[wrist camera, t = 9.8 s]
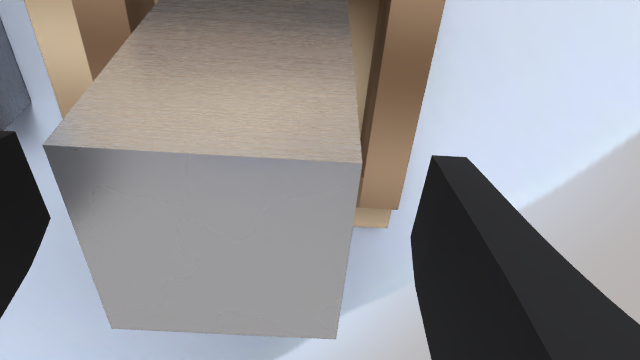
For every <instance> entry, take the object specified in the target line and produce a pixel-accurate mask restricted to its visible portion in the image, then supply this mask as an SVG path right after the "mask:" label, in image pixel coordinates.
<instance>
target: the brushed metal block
mask: <svg viewBox="0 0 640 360" xmlns="http://www.w3.org/2000/svg"><path fill="white" fill-rule="evenodd" d="M43 147H44V150H45V153H46V155H47V158H48V160H49V163H50V166H51V168H52V171H53V174H54V176H55V179H56V182H57V184H58V187H59V190H60V192H61V195H62V198H63V200H64V203H65V206H66V208H67V211H68V214H69V216H70V219H71V222H72V224H73V227H74V230H75V232H76V235H77V238H78V240H79V243H80V246H81V248H82V251H83V254H84V256H85V259H86V262H87V264H88V267H89V270H90V272H91V275H92V278H93V280H94V283H95V286H96V288H97V291H98V294H99V296H100V299H101V302H102V304H103V307H104V309H105V312H106V315H107V317H108V320H109V323H110V325H111V328H112V329H131V330H152V331H173V332H194V333H215V334H236V335H257V336H278V337H299V338H322V339H336V335H337V329H338V322H339V316H340V309H341V302H342V296H343V289H344V282H345V276H346V269H347V262H348V256H349V249H350V242H351V236H352V229H353V222H354V216H355V209H356V202H357V196H358V189H359V182H360V176H361V169H362V154H361V143H360V132H359V121H358V110H357V98H356V87H355V76H354V65H353V54H352V43H351V31H350V20H349V9H348V0H158V1H157V3H156V4H155V5H154V6H153V8H152V9H151V10H150V11H149V13H148V14H147V15H146V16H145V18H144V19H143V20H142V21H141V23H140V24H139V25H138V26H137V28H136V29H135V30H134V31H133V33H132V34H131V35H130V36H129V38H128V39H127V40H126V41H125V43H124V44H123V45H122V46H121V48H120V49H119V50H118V51H117V53H116V54H115V55H114V56H113V58H112V59H111V60H110V61H109V63H108V64H107V65H106V66H105V68H104V69H103V70H102V71H101V73H100V74H99V75H98V76H97V78H96V79H95V80H94V81H93V82H92V84H91V85H90V86H89V87H88V89H87V90H86V91H85V92H84V94H83V95H82V96H81V97H80V99H79V100H78V101H77V102H76V104H75V105H74V106H73V107H72V109H71V110H70V111H69V112H68V114H67V115H66V116H65V117H64V119H63V120H62V121H61V122H60V124H59V125H58V126H57V127H56V129H55V130H54V131H53V132H52V134H51V135H50V136H49V137H48V139H47V140H46V141H45V142H44V144H43Z"/></svg>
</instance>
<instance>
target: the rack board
mask: <svg viewBox="0 0 640 360" xmlns="http://www.w3.org/2000/svg"><path fill="white" fill-rule="evenodd" d="M157 1H158V0H24V2H25V5H26V8H27V11H28V14H29V17H30V20H31V23H32V26H33V29H34V32H35V36H36V39H37V42H38V45H39V48H40V51H41V54H42V57H43V60H44V63H45V66H46V69H47V72H48V75H49V78H50V81H51V84H52V87H53V90H54V93H55V96H56V99H57V102H58V106H59V109H60V112H61V115H62V118H63V119H64V117H65V116H66V115H67V114H68V112H69V111H70V110H71V109H72V107H73V106H74V105H75V104H76V102H77V101H78V100H79V99H80V97H81V96H82V95H83V94H84V92H85V91H86V90H87V89H88V87H89V86H90V85H91V84H92V82H93V81H94V80H95V79H96V78H97V76H98V75H99V74H100V73H101V71H102V70H103V69H104V68H105V66H106V65H107V64H108V63H109V61H110V60H111V59H112V58H113V56H114V55H115V54H116V53H117V51H118V50H119V49H120V48H121V46H122V45H123V44H124V43H125V41H126V40H127V39H128V38H129V36H130V35H131V34H132V33H133V31H134V30H135V29H136V28H137V26H138V25H139V24H140V23H141V21H142V20H143V19H144V18H145V16H146V15H147V14H148V13H149V11H150V10H151V9H152V8H153V6H154V5H155V4H156V3H157ZM444 5H445V0H348V9H349V20H350V31H351V43H352V54H353V65H354V76H355V87H356V98H357V110H358V121H359V132H360V143H361V154H362V169H361V176H360V182H359V189H358V196H357V202H356V209H355V216H354V222H353V226H358V227H376V228H388V223H389V218H390V214H391V209H393V210H398V206H399V202H400V198H401V193H402V189H403V184H404V180H405V176H406V171H407V167H408V163H409V158H410V154H411V149H412V145H413V141H414V136H415V132H416V127H417V123H418V119H419V114H420V110H421V105H422V101H423V97H424V92H425V88H426V84H427V79H428V75H429V70H430V66H431V62H432V57H433V53H434V48H435V44H436V40H437V35H438V31H439V26H440V22H441V18H442V13H443V9H444Z"/></svg>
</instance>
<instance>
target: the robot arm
mask: <svg viewBox="0 0 640 360" xmlns="http://www.w3.org/2000/svg"><path fill="white" fill-rule="evenodd" d="M50 219H51V218H50V215H49V213H48V210H47V208H46V206H45V203H44V201H43V198H42V196H41V193H40V191H39V188H38V186H37V184H36V181H35V179H34V176H33V174H32V171H31V169H30V167H29V164H28V162H27V159H26V157H25V154H24V152H23V149H22V147H21V145H20V142H19V140H18V137H17V135H16V132H15V131H0V318H1V317H2V315H3V313H4V312H5V310H6V308H7V307H8V305H9V303H10V302H11V300H12V298H13V297H14V295H15V293H16V291H17V290H18V288H19V286H20V285H21V283H22V281H23V280H24V278H25V276H26V274H27V273H28V271H29V269H30V267H31V265H32V263H33V260H34V258H35V256H36V253H37V251H38V249H39V247H40V244H41V242H42V239H43V237H44V234H45V231H46V229H47V226H48V224H49V221H50ZM411 248H412V260H413V270H414V279H415V287H416V292H417V297H418V301H419V306H420V311H421V315H422V319H423V324H424V329H425V333H426V337H427V341H428V346H429V350H430V355H431V359H432V360H640V325H639V324H638V323H637V322H636V321H635V320H633V319H632V318H631V317H630V316H628V315H627V314H626V313H625V312H624V311H623V310H621V309H620V308H619V307H618V306H617V305H616V304H614V303H613V302H612V301H611V300H610V299H609V298H607V297H606V296H605V295H604V294H603V293H602V292H601V291H600V290H599V289H597V288H596V287H595V286H594V285H593V284H592V283H591V282H590V281H589V280H587V279H586V278H585V277H584V276H583V275H582V274H581V273H580V272H579V271H578V270H576V269H575V268H574V267H573V266H572V265H571V264H570V263H569V262H568V261H567V260H566V259H565V258H564V257H563V256H562V255H561V254H559V252H558V251H556V250H555V249H554V248H553V247H552V246H551V245H550V244H549V243H548V242H547V241H546V240H545V239H544V238H543V237H542V236H541V235H540V234H539V233H538V232H537V231H536V230H535V229H534V228H533V227H532V226H531V225H530V224H529V223H528V222H527V220H526V219H525V218H524V217H523V216H522V215H521V214H520V213H519V212H518V211H517V210H516V209H515V208H514V207H513V206H512V205H511V204H510V203H509V202H508V201H507V199H506V198H505V197H504V196H503V195H502V194H501V193H500V192H499V191H498V190H497V189H496V188H495V187H494V186H493V185H492V183H491V182H490V181H489V180H488V179H487V178H486V177H485V176H484V175H483V174H482V173H481V172H480V171H479V170H478V169H477V168H476V167H475V165H474V164H473V163H472V162H471V161H470V160H469V159H468V158H466V157H452V156H434V155H432V157H431V161H430V165H429V168H428V172H427V176H426V180H425V184H424V187H423V191H422V195H421V199H420V203H419V206H418V210H417V214H416V218H415V222H414V225H413V229H412V233H411Z"/></svg>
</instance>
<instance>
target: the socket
mask: <svg viewBox="0 0 640 360" xmlns="http://www.w3.org/2000/svg"><path fill="white" fill-rule="evenodd" d="M30 102H31V101H30V98H29V96H28V93H27V90H26V87H25V85H24V82H23V79H22V77H21V74H20V71H19V68H18V66H17V63H16V60H15V58H14V55H13V52H12V49H11V47H10V44H9V41H8V39H7V36H6V33H5V30H4V28H3V25H2V22H1V20H0V131H4V130H5V129H6V127H7V126H8V125H9V124H10V123H11V122H12V121H13V120H14V119H15V118H16V117H17V116H18V115H19V114H20V113H21V112H22V111H23V110H24V109H25V107H26V106H27V105H28V104H29V103H30Z"/></svg>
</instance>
